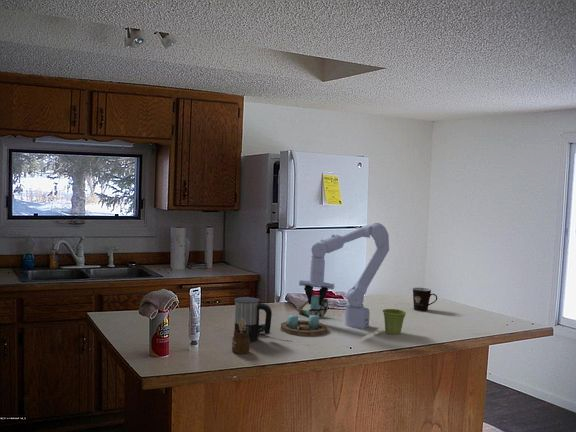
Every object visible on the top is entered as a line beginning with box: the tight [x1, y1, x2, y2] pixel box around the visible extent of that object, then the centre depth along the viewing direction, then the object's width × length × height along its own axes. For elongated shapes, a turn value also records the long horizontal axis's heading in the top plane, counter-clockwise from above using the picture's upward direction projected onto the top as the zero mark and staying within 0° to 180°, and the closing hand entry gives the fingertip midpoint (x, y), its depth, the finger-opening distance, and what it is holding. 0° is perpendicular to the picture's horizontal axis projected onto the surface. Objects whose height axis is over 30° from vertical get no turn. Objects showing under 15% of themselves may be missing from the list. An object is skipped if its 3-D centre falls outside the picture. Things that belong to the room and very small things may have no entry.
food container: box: [296, 297, 329, 318], centre depth 266 cm, size 12×6×10 cm
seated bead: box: [308, 315, 320, 330], centre depth 240 cm, size 4×4×5 cm
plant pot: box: [382, 308, 407, 335], centre depth 244 cm, size 9×9×9 cm
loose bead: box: [310, 294, 320, 309], centre depth 251 cm, size 4×4×5 cm
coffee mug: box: [412, 286, 438, 312], centre depth 290 cm, size 12×9×10 cm
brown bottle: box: [231, 319, 251, 355], centre depth 208 cm, size 6×6×12 cm
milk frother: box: [233, 296, 273, 343], centre depth 228 cm, size 14×16×15 cm
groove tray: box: [280, 319, 328, 337], centre depth 238 cm, size 18×18×2 cm
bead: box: [287, 314, 299, 330], centre depth 238 cm, size 4×4×5 cm
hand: (315, 304), depth 251 cm, fingers closed on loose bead, 4 cm apart
